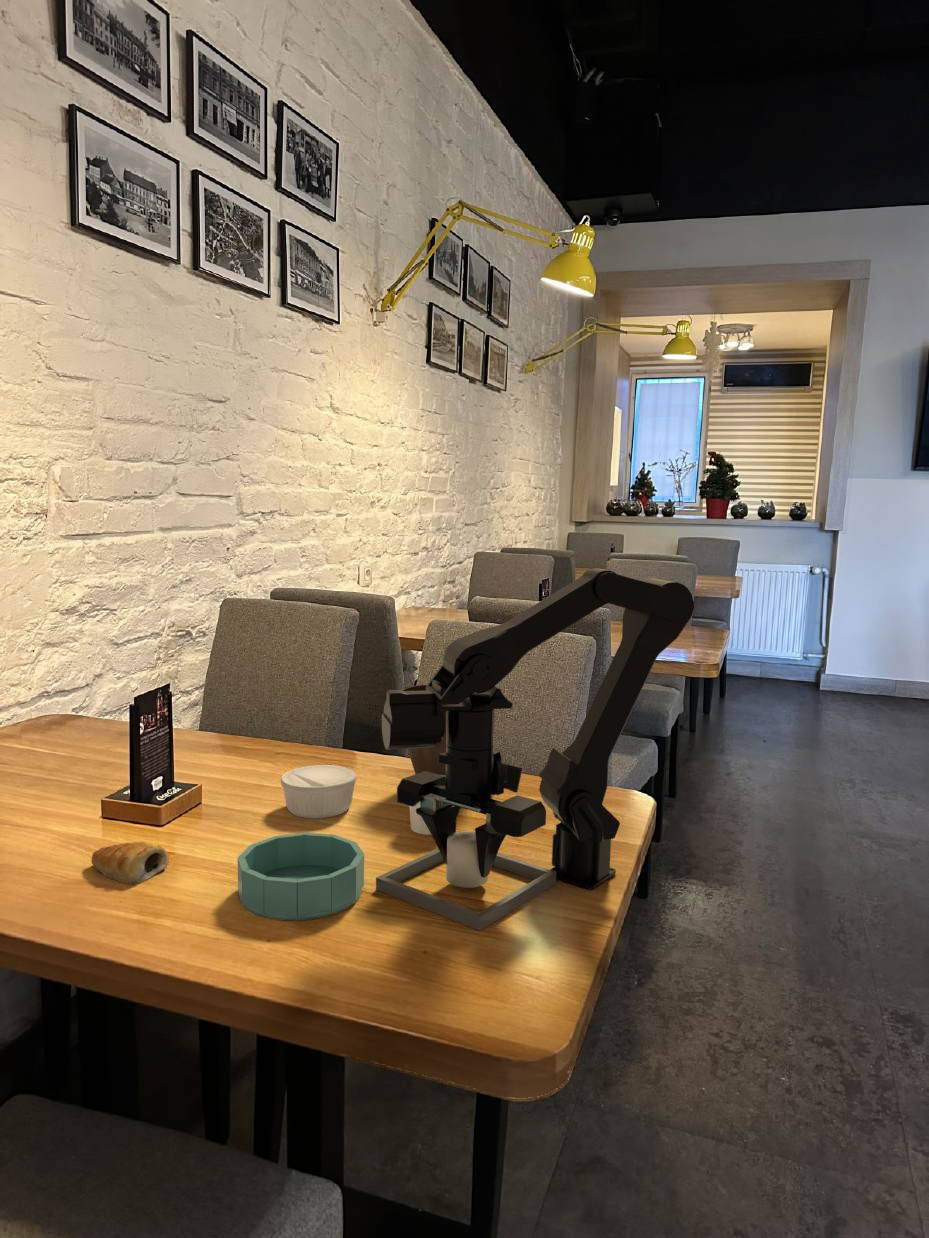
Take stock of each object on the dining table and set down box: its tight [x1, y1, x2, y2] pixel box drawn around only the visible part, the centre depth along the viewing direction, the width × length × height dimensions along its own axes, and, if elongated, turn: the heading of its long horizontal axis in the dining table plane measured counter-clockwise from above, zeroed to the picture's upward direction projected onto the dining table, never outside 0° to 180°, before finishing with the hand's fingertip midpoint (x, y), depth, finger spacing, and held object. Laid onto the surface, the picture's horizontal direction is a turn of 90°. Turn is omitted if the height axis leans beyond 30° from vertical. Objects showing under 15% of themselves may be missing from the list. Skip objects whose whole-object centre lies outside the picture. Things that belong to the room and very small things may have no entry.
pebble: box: [445, 830, 489, 889], centre depth 102 cm, size 5×5×5 cm
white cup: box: [408, 775, 446, 836], centre depth 121 cm, size 7×7×7 cm
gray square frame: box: [375, 848, 557, 931], centre depth 102 cm, size 16×16×2 cm
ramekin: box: [280, 764, 357, 819], centre depth 128 cm, size 11×11×5 cm
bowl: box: [237, 832, 365, 922], centre depth 100 cm, size 14×14×4 cm
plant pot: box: [400, 683, 485, 776], centre depth 138 cm, size 15×15×16 cm
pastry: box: [91, 841, 170, 885], centre depth 105 cm, size 9×7×4 cm
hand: (467, 870), depth 102 cm, fingers closed on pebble, 5 cm apart
